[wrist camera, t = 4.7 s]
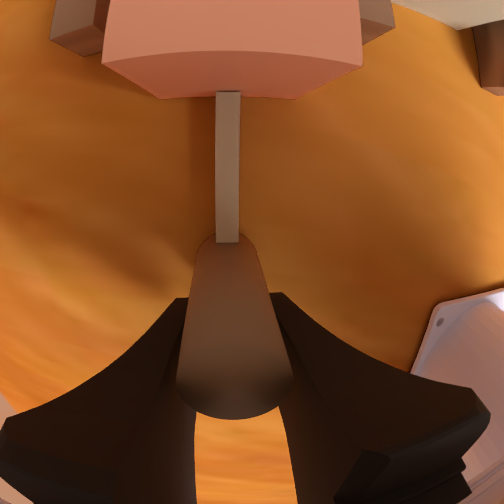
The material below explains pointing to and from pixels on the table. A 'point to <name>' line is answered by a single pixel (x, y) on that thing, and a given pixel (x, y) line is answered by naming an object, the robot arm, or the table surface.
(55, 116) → the table surface
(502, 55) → the lane rack
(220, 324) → the tethered block
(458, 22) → the plain block
